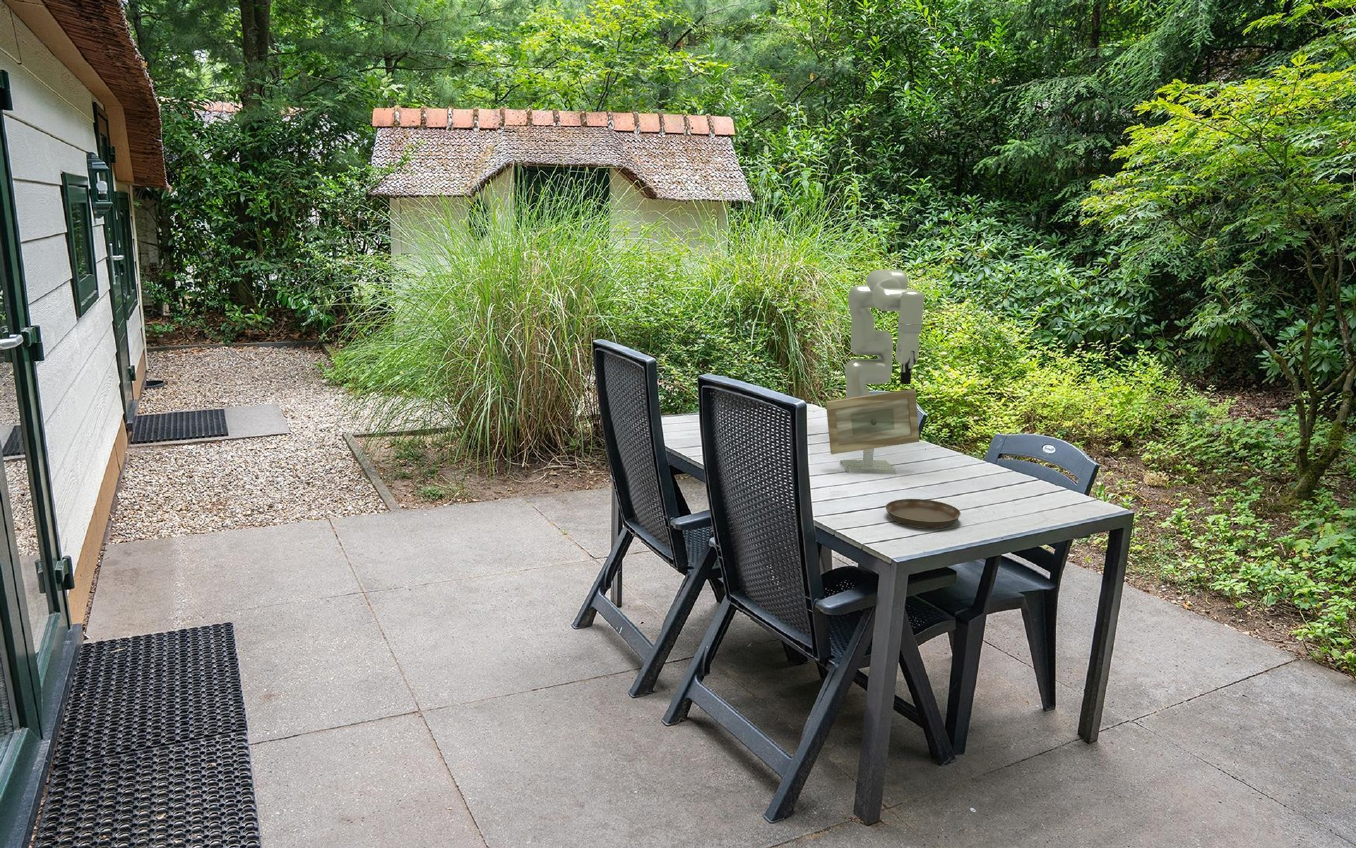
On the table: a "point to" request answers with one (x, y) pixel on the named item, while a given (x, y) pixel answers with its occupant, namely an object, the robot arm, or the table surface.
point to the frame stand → (868, 464)
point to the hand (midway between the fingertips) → (905, 383)
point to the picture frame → (872, 421)
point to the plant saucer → (922, 513)
